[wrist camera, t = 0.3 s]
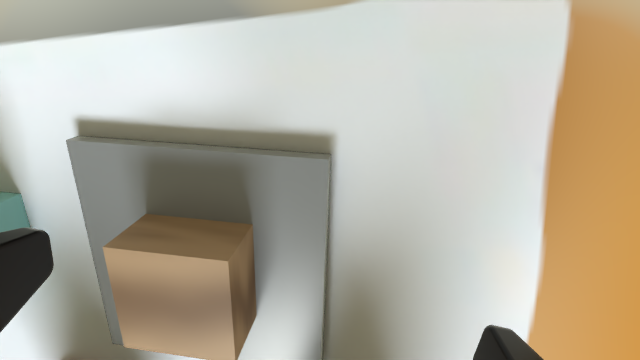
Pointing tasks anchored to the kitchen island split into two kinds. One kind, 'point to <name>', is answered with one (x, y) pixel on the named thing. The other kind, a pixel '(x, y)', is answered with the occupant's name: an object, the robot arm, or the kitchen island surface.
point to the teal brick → (12, 212)
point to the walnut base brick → (184, 285)
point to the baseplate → (228, 206)
